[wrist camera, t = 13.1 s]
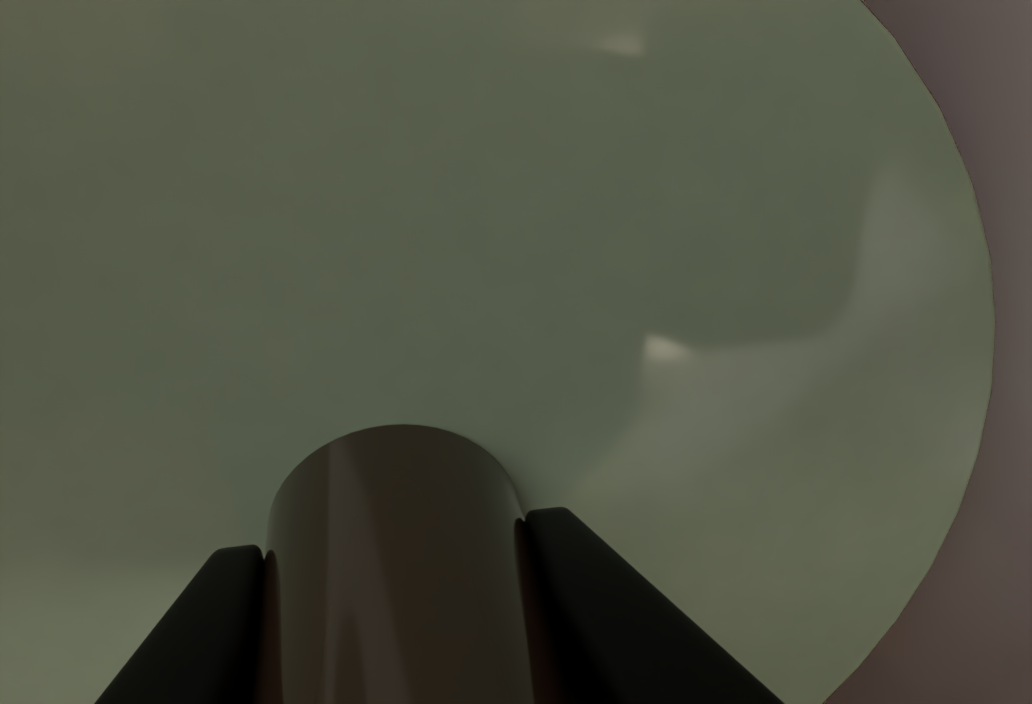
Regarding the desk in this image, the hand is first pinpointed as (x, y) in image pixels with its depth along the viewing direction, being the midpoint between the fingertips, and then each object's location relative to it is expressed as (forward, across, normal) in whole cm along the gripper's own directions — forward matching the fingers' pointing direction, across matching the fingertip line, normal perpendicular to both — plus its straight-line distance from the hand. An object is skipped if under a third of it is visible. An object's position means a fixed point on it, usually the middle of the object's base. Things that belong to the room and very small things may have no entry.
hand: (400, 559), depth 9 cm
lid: (+1, 0, 0) cm, 1 cm away
